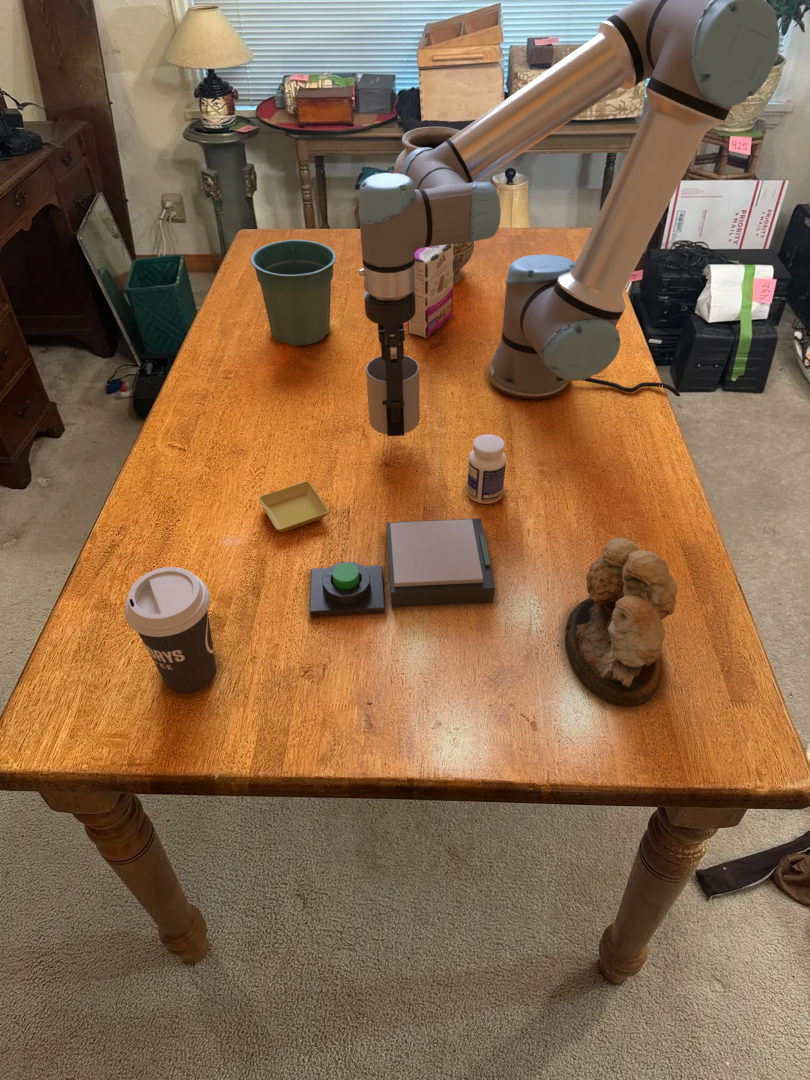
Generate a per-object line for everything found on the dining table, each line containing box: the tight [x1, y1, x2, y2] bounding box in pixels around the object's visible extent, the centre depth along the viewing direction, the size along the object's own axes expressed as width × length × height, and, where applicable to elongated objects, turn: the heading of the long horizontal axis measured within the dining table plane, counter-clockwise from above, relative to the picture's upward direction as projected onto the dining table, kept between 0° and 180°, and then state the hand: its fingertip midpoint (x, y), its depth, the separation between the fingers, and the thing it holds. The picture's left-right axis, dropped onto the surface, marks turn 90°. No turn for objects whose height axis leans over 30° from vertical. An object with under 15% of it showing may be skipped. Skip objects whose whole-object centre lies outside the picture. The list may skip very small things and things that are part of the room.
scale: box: [386, 517, 496, 608], centre depth 108 cm, size 14×14×4 cm
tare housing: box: [309, 561, 385, 618], centre depth 105 cm, size 10×8×3 cm
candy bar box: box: [407, 244, 454, 339], centre depth 155 cm, size 11×5×16 cm, turn 148°
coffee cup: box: [124, 566, 217, 694], centre depth 91 cm, size 10×10×15 cm
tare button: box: [332, 563, 359, 590], centre depth 103 cm, size 4×4×2 cm
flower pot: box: [250, 239, 337, 346], centre depth 153 cm, size 16×16×16 cm
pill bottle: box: [466, 433, 507, 505], centre depth 118 cm, size 6×6×10 cm
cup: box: [365, 354, 421, 436], centre depth 124 cm, size 8×8×10 cm
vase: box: [394, 126, 475, 285], centre depth 167 cm, size 18×18×30 cm
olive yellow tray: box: [258, 480, 330, 533], centre depth 117 cm, size 9×9×2 cm
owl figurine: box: [564, 536, 679, 707], centre depth 93 cm, size 18×12×17 cm, turn 6°
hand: (394, 418), depth 127 cm, fingers closed on cup, 8 cm apart
